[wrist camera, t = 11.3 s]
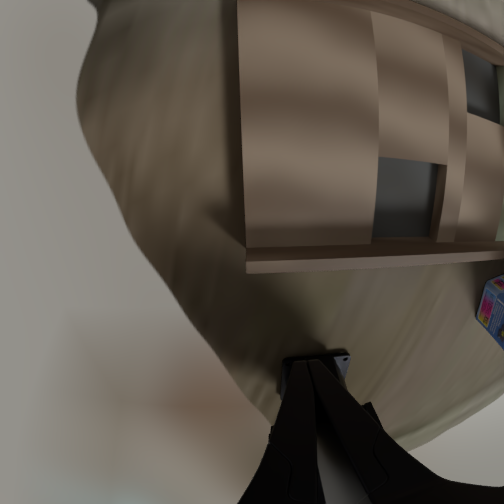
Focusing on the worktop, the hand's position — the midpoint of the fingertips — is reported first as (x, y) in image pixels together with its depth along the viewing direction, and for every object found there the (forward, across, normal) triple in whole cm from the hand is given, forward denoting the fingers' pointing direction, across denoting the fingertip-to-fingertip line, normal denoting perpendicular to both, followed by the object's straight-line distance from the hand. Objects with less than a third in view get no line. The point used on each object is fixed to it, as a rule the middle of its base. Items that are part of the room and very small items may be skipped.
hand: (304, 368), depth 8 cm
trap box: (+12, -12, -8) cm, 19 cm away
